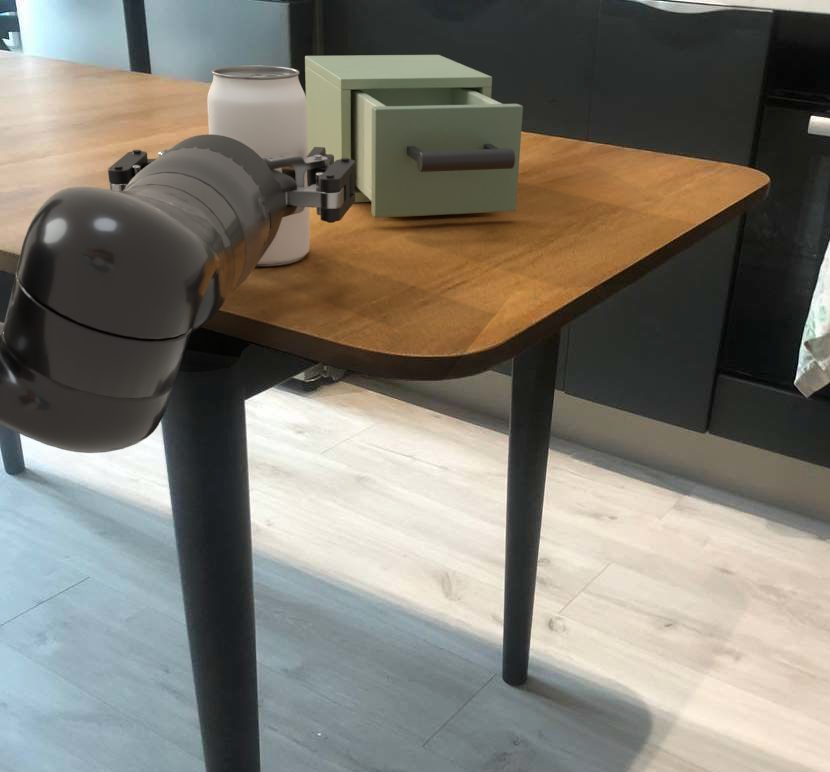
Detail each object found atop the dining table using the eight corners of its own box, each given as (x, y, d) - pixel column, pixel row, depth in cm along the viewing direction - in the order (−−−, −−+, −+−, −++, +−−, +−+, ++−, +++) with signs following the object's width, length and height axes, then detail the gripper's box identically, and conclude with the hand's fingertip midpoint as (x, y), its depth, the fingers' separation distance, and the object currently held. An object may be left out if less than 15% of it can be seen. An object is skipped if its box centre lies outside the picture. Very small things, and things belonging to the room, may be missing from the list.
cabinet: (485, 197, 93) (492, 76, 88) (341, 203, 89) (340, 78, 85) (435, 162, 105) (439, 54, 100) (307, 166, 102) (304, 55, 97)
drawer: (538, 226, 81) (547, 116, 77) (391, 234, 78) (392, 120, 74) (462, 174, 96) (466, 80, 92) (336, 179, 93) (335, 82, 89)
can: (239, 239, 79) (229, 62, 73) (322, 247, 78) (319, 68, 72) (201, 262, 74) (187, 73, 68) (291, 272, 72) (284, 80, 67)
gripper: (77, 283, 60) (157, 212, 74) (331, 295, 60) (363, 221, 74) (58, 143, 57) (146, 96, 71) (329, 154, 56) (364, 104, 70)
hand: (257, 160), depth 72 cm, fingers open, 8 cm apart
